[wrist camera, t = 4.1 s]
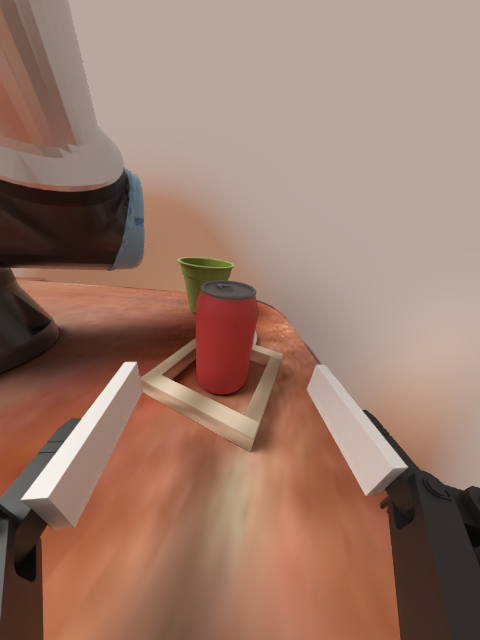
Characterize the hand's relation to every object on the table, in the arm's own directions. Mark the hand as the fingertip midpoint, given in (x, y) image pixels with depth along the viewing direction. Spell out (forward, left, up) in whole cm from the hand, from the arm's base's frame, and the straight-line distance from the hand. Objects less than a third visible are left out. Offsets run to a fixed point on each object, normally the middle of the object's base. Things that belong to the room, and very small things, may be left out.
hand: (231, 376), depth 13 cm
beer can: (-4, +6, -7) cm, 10 cm away
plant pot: (-18, +23, -7) cm, 30 cm away
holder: (-4, +6, -7) cm, 10 cm away
